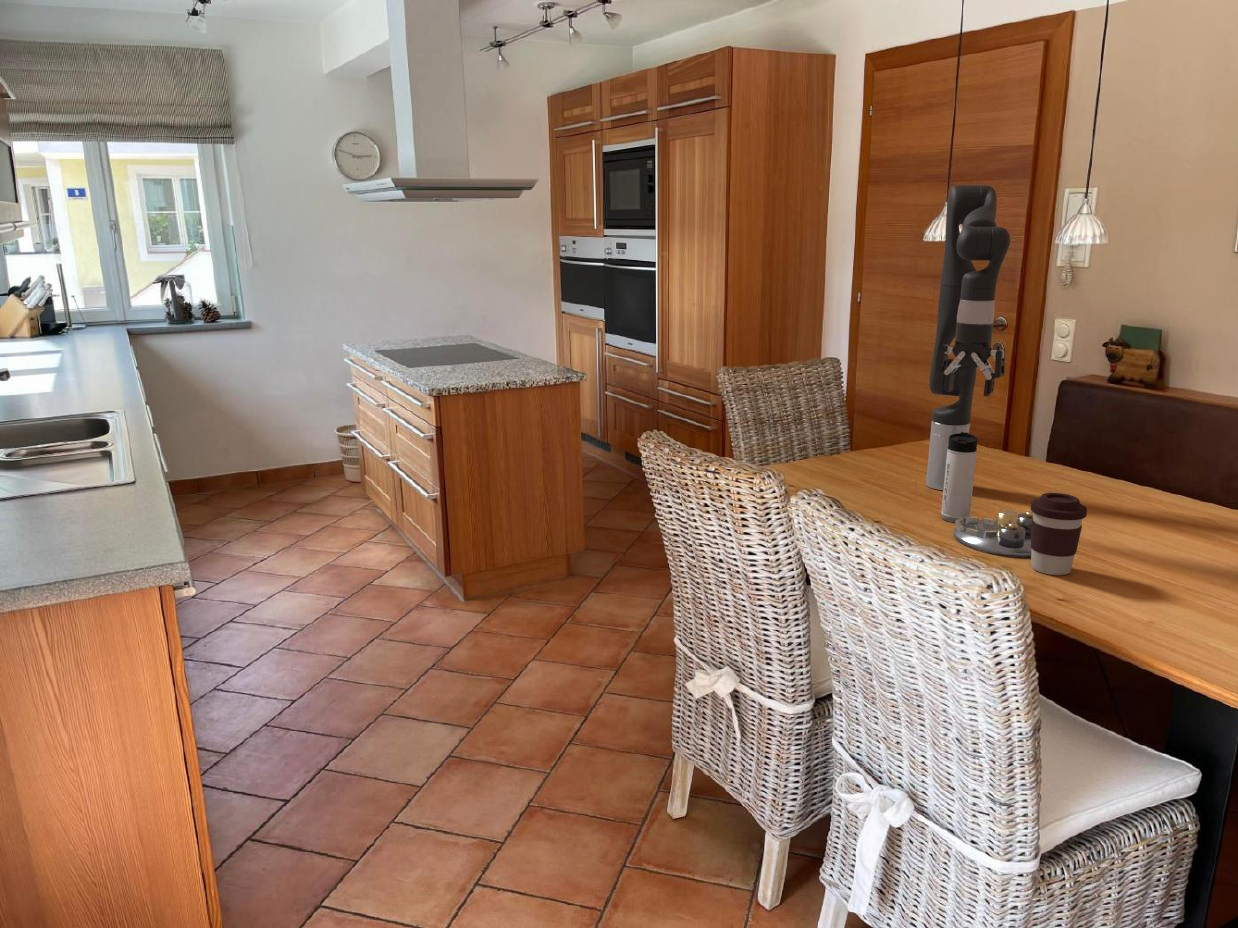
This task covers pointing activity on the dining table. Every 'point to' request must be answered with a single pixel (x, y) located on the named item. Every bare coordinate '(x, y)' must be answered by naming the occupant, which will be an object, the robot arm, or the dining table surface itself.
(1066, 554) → the coffee cup
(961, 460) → the travel mug
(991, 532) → the carrier plate
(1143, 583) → the dining table surface
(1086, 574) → the dining table surface
